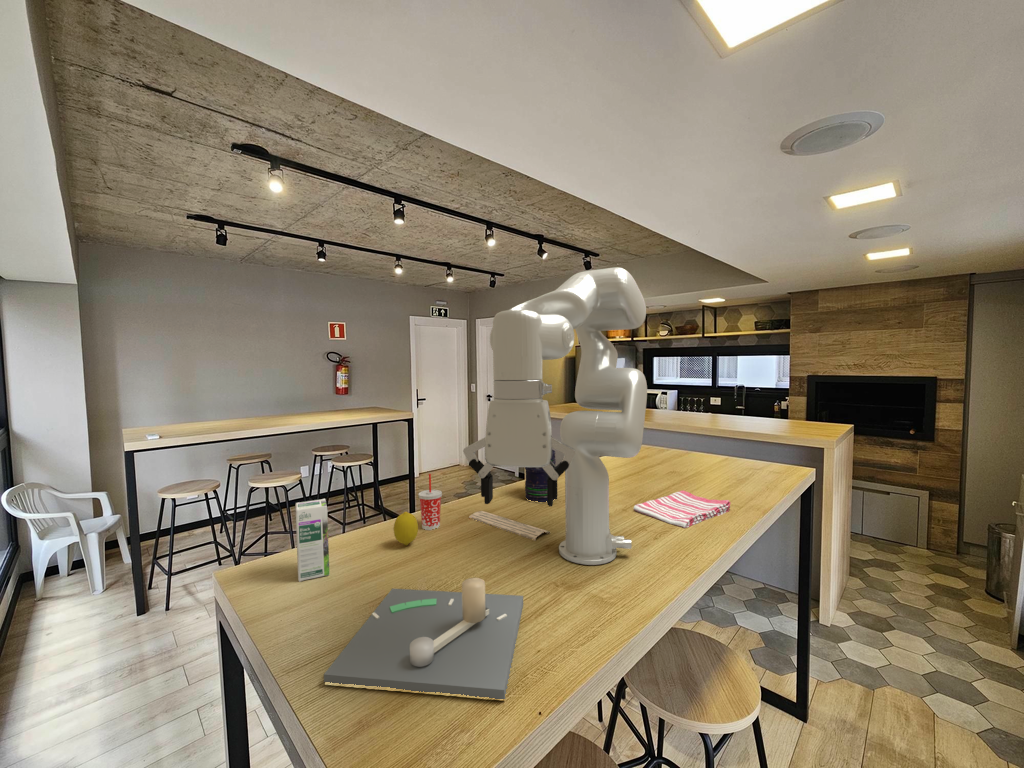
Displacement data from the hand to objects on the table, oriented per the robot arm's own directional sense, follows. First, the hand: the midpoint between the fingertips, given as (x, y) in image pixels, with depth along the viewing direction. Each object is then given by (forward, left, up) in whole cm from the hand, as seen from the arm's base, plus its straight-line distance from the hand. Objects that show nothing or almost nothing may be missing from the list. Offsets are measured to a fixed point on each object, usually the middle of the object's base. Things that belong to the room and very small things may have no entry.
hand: (519, 502), depth 66 cm
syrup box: (+44, -15, -21) cm, 51 cm away
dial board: (+12, +3, -21) cm, 24 cm away
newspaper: (+8, -45, -22) cm, 51 cm away
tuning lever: (+10, +5, -19) cm, 22 cm away
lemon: (+30, -30, -21) cm, 47 cm away
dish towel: (-39, -61, -21) cm, 75 cm away
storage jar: (+1, -69, -21) cm, 72 cm away
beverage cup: (+28, -42, -21) cm, 55 cm away
